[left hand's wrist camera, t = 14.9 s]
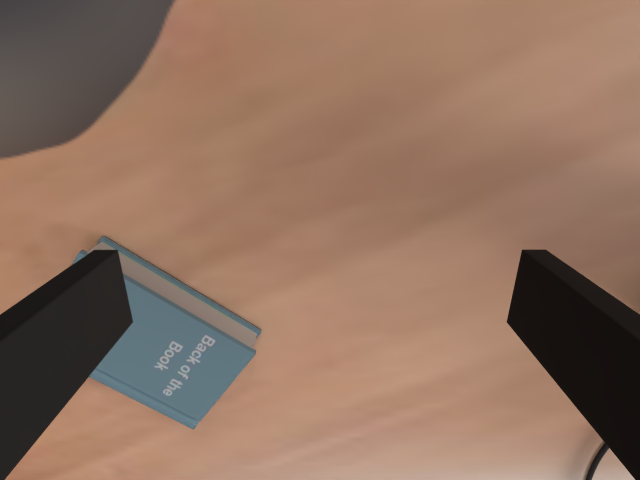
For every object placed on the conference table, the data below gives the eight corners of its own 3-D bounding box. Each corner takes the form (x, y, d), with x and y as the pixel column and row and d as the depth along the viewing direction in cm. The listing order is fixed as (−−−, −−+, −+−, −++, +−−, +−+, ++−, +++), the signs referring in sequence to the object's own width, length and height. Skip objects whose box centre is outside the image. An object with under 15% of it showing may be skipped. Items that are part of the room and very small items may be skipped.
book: (261, 330, 50) (255, 354, 46) (200, 405, 55) (189, 433, 50) (103, 235, 45) (79, 252, 41) (52, 326, 50) (24, 350, 45)
